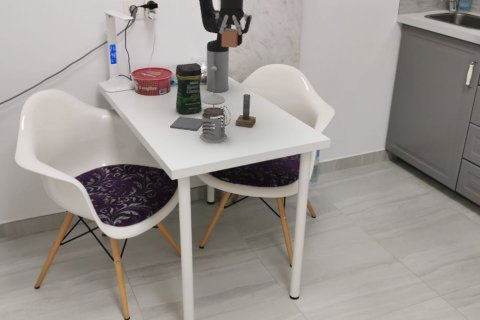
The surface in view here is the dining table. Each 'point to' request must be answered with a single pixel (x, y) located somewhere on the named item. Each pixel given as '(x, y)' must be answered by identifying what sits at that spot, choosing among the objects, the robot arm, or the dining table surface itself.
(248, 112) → the post stand
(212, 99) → the french press
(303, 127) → the dining table surface
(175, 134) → the dining table surface
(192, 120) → the mat
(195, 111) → the coffee jar
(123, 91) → the dining table surface
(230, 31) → the orange cube
